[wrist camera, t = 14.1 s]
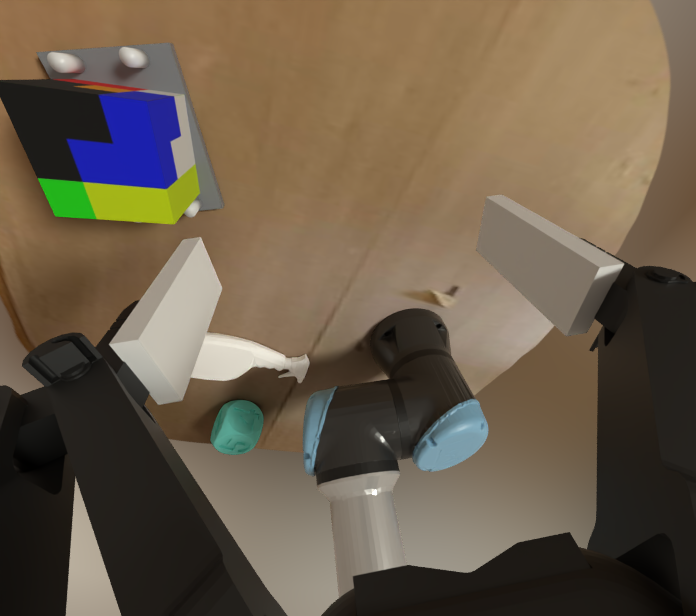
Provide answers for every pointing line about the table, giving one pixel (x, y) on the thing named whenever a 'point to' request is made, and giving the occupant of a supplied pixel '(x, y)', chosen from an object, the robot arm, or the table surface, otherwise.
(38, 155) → the puzzle toy
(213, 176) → the pin tray
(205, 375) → the spray bottle
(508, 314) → the table surface
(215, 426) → the decorative dice
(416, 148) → the table surface
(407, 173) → the table surface
